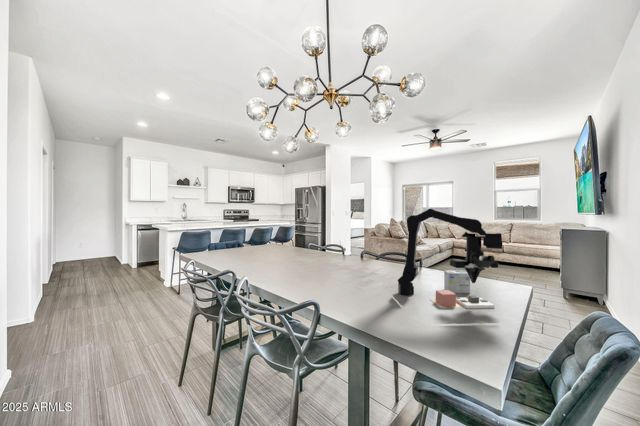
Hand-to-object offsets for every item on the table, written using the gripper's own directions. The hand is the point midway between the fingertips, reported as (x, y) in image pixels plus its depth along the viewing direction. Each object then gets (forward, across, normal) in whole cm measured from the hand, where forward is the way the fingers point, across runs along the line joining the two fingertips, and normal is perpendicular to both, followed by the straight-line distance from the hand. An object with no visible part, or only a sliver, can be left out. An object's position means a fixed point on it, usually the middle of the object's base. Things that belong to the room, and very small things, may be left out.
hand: (473, 282), depth 118 cm
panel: (+10, 0, 0) cm, 10 cm away
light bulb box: (+10, +3, +19) cm, 22 cm away
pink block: (+9, -12, +1) cm, 15 cm away
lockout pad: (+10, -12, +1) cm, 16 cm away
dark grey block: (+8, 0, 0) cm, 8 cm away
